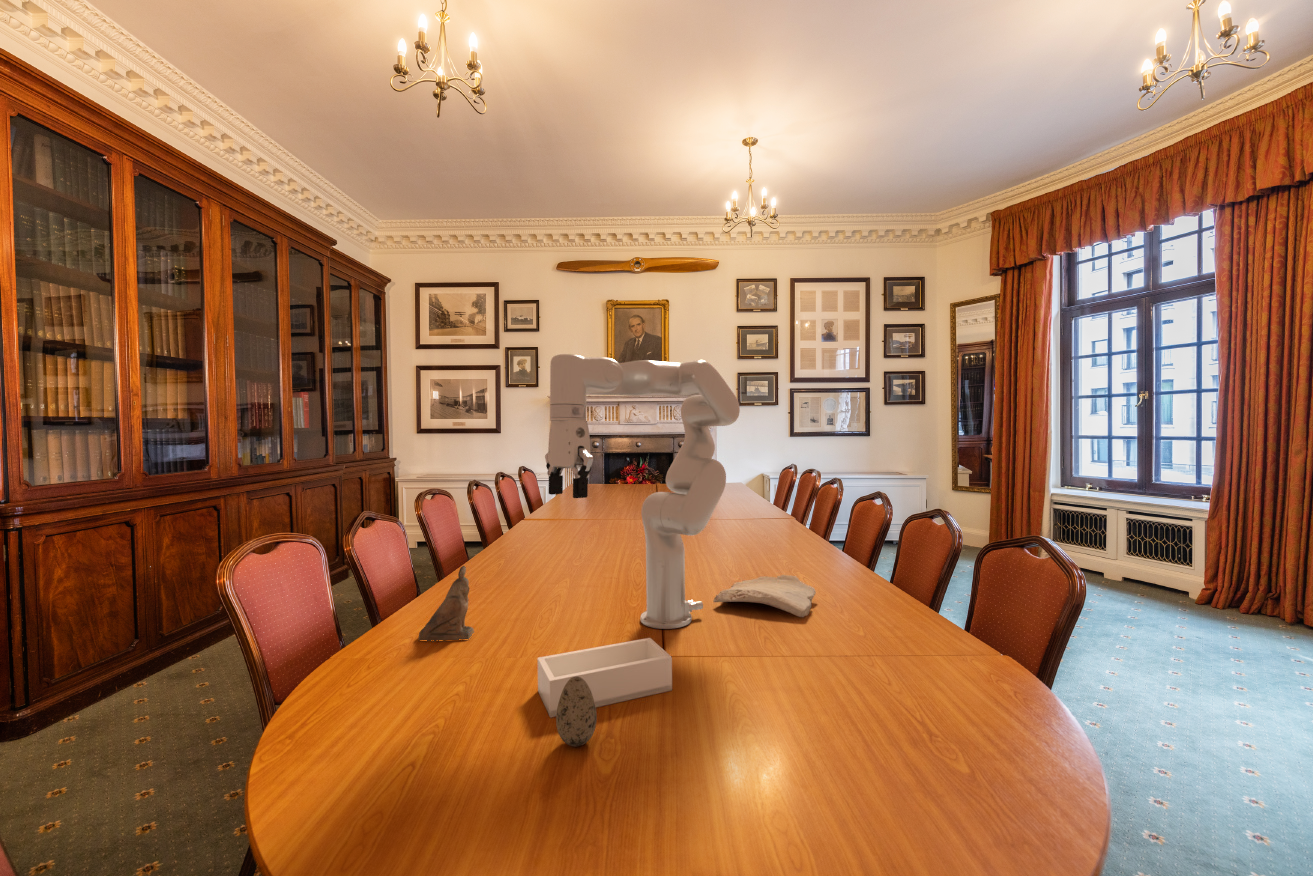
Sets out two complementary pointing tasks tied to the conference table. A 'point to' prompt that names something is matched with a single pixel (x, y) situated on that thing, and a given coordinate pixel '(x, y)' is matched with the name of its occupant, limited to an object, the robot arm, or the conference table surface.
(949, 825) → the conference table surface
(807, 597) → the beige curved fragment
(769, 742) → the conference table surface
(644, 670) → the open rectangular box
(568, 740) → the decorative egg
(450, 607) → the brown carved statuette
